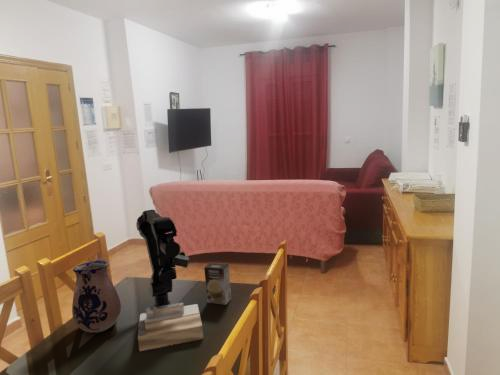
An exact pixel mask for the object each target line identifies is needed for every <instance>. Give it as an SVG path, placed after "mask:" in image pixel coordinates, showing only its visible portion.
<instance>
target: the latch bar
mask: <svg viewBox="0 0 500 375" xmlns="http://www.w3.org/2000/svg"><path fill="white" fill-rule="evenodd" d="M184 306H185V305H184V302H177V303H172V304H171V303H170V305H164V306H158V307H155V306H153V307H151V306H150V307H147V308H146V309H144V310H145V313H146V318H147V319H151V318H153V317H158V316H164V315H170V314H175V313H181V312H184Z"/></svg>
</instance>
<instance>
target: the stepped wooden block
mask: <svg viewBox="0 0 500 375" xmlns="http://www.w3.org/2000/svg"><path fill="white" fill-rule="evenodd" d="M202 323H203V322H202V318H201V314H200V313H199V314H194V315H189V316H183V317H178V318H172V319H166V320H161V321H155V322H150V323H145V320H142V321H140V320H138V326H137V327H138V331H137V341H138V342H137V343H138V350H139V352H143V351H144V352H145V351H148V350H152V349H159V348H163V347H168V346H169V345H170V346H173V345H174V344H175V345H179V344H185V343H189V342H194V341H201V340H204V332H203V330H204V329H203V328H204V327H203V324H202Z"/></svg>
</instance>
